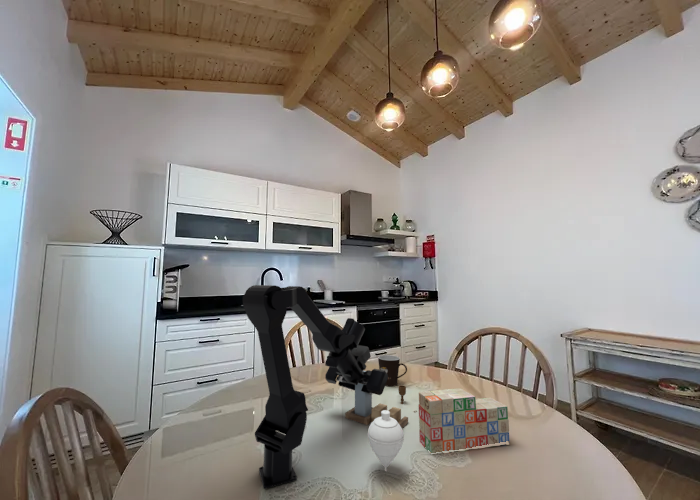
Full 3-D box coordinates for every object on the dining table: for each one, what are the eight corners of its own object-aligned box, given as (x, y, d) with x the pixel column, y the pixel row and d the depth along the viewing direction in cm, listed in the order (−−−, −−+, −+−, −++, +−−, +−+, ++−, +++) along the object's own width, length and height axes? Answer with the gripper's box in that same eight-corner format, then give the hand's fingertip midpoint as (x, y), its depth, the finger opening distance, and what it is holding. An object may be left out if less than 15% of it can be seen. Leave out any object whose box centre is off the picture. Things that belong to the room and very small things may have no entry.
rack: (395, 434, 79) (395, 428, 79) (345, 418, 88) (345, 412, 88) (408, 422, 85) (408, 417, 85) (359, 408, 94) (359, 403, 94)
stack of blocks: (492, 433, 80) (491, 385, 81) (510, 446, 74) (507, 393, 75) (418, 441, 75) (418, 390, 77) (430, 455, 69) (429, 400, 70)
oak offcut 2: (393, 430, 81) (393, 415, 81) (385, 428, 82) (385, 412, 82) (401, 423, 85) (400, 408, 85) (393, 421, 86) (393, 406, 86)
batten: (364, 420, 86) (365, 375, 88) (354, 417, 88) (355, 373, 90) (371, 415, 89) (371, 372, 91) (361, 412, 91) (362, 370, 93)
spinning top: (400, 460, 67) (399, 404, 68) (407, 483, 59) (407, 419, 61) (365, 460, 67) (366, 404, 68) (369, 483, 59) (369, 419, 60)
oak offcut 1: (378, 426, 83) (378, 411, 83) (371, 423, 84) (371, 409, 85) (387, 419, 87) (387, 405, 88) (379, 417, 88) (379, 403, 89)
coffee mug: (374, 381, 120) (374, 356, 121) (392, 379, 124) (392, 354, 125) (389, 391, 110) (389, 363, 111) (409, 388, 113) (408, 361, 114)
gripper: (385, 341, 83) (401, 373, 91) (331, 334, 93) (351, 363, 101) (370, 378, 76) (390, 409, 83) (314, 366, 86) (336, 394, 94)
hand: (365, 391), depth 91 cm, fingers open, 4 cm apart
